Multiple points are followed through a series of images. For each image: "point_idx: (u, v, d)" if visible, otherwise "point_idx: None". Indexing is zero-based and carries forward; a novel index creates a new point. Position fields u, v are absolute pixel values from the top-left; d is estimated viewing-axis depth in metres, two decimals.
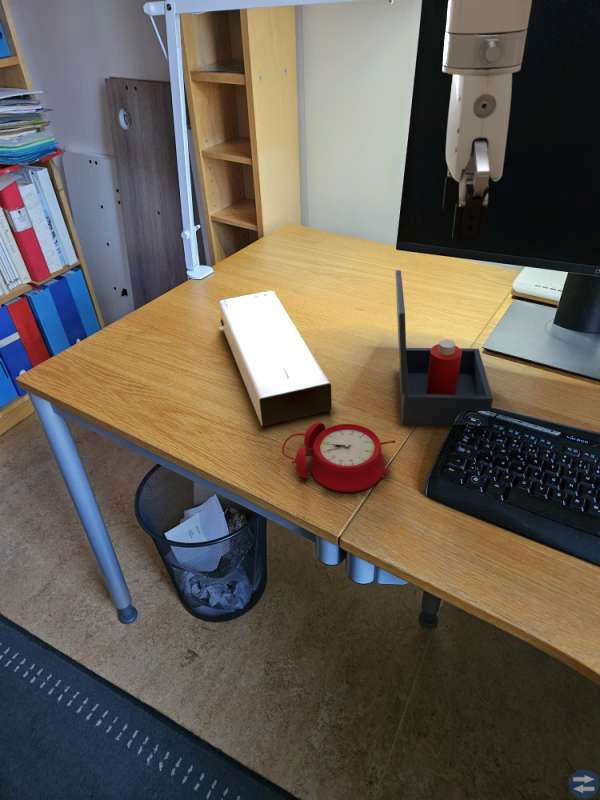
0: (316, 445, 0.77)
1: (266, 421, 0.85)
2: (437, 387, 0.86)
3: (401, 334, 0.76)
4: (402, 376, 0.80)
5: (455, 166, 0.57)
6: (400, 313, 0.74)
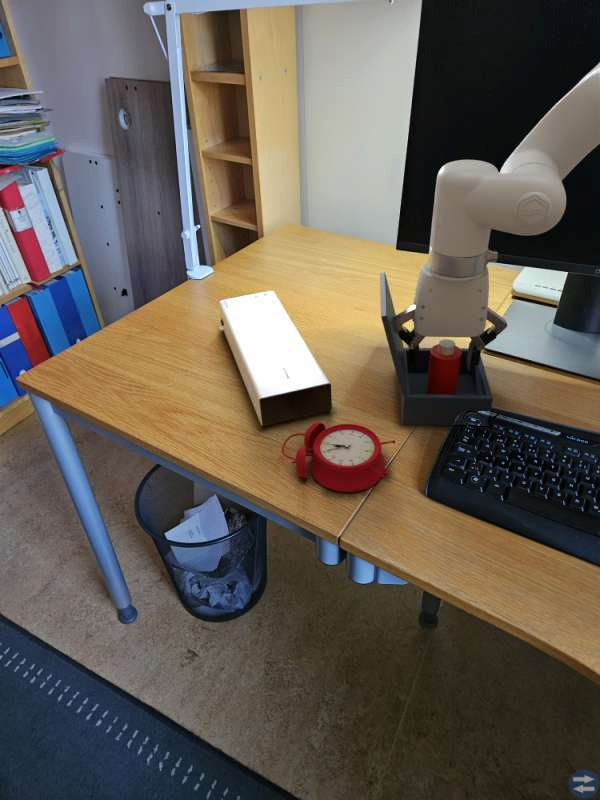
0: (316, 445, 0.77)
1: (266, 421, 0.85)
2: (437, 387, 0.86)
3: (388, 336, 0.76)
4: (398, 377, 0.80)
5: (481, 328, 0.79)
6: (382, 316, 0.74)
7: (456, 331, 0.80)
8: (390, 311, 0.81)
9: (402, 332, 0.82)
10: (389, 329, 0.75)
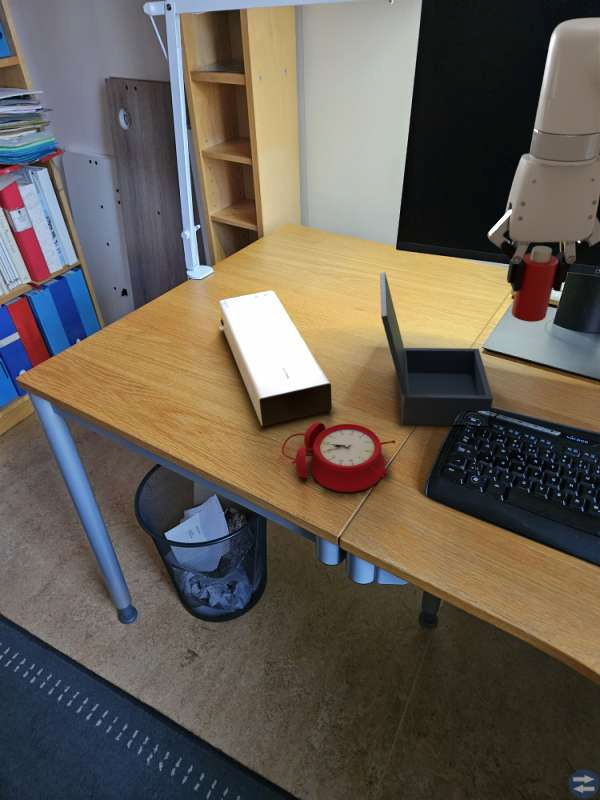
0: (316, 445, 0.77)
1: (266, 421, 0.85)
2: (528, 302, 0.76)
3: (388, 336, 0.76)
4: (398, 377, 0.80)
5: (588, 229, 0.69)
6: (382, 316, 0.74)
7: (559, 233, 0.70)
8: (390, 311, 0.81)
9: (506, 243, 0.73)
10: (389, 329, 0.75)
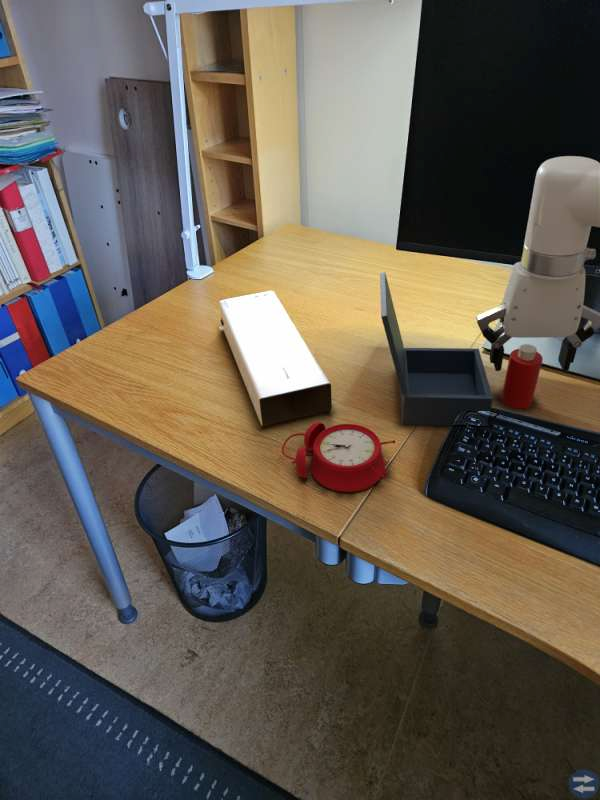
0: (316, 445, 0.77)
1: (266, 421, 0.85)
2: (515, 393, 0.85)
3: (388, 336, 0.76)
4: (398, 377, 0.80)
5: (574, 327, 0.78)
6: (382, 316, 0.74)
7: (549, 331, 0.78)
8: (390, 311, 0.81)
9: (487, 331, 0.81)
10: (389, 329, 0.75)
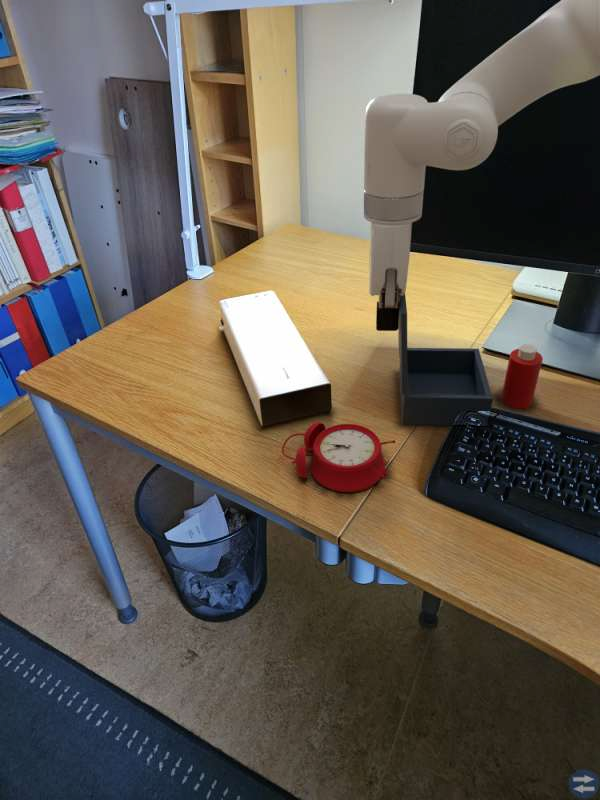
0: (316, 445, 0.77)
1: (266, 421, 0.85)
2: (515, 393, 0.85)
3: (403, 334, 0.76)
4: (402, 376, 0.80)
5: None
6: (402, 313, 0.74)
7: None
8: None
9: (395, 296, 0.77)
10: (406, 327, 0.75)
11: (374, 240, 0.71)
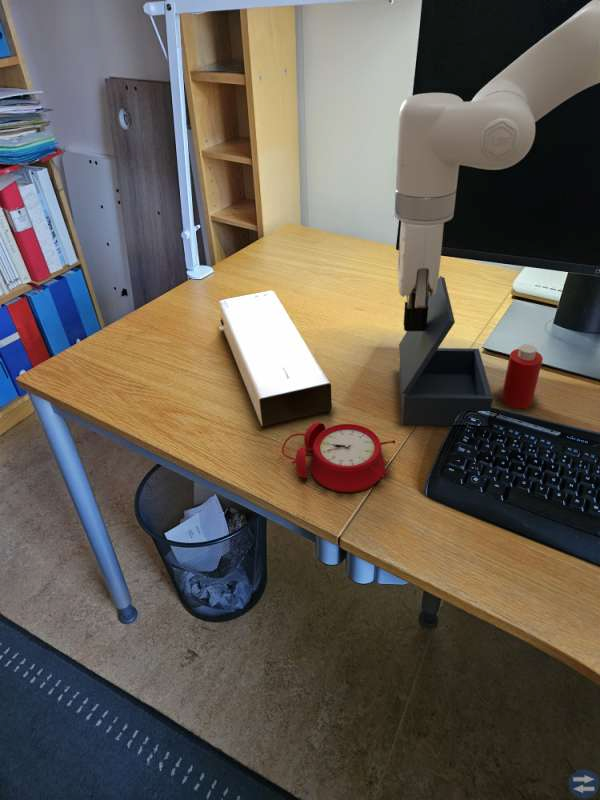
0: (316, 445, 0.77)
1: (266, 421, 0.85)
2: (515, 393, 0.85)
3: (439, 339, 0.76)
4: (413, 377, 0.80)
5: None
6: (450, 320, 0.74)
7: None
8: None
9: None
10: (445, 334, 0.75)
11: (406, 240, 0.70)
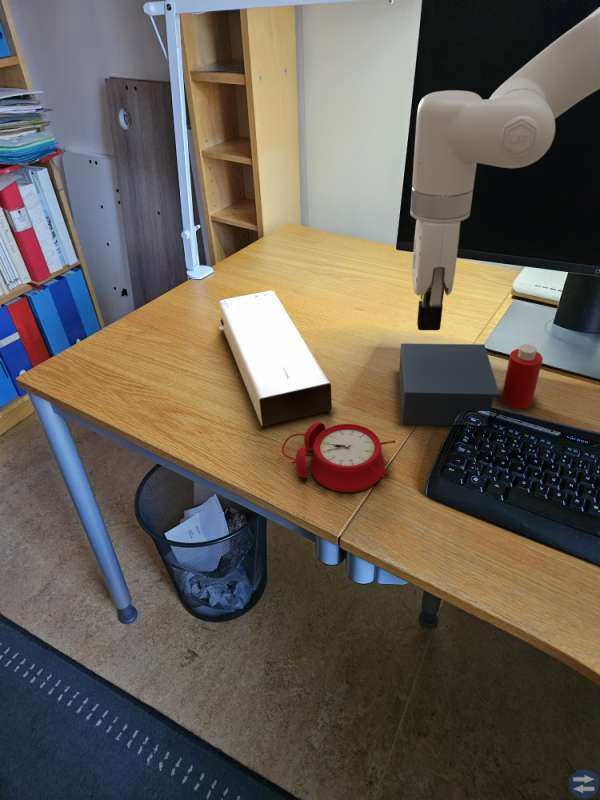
0: (316, 445, 0.77)
1: (266, 421, 0.85)
2: (515, 393, 0.85)
3: (476, 395, 0.80)
4: (427, 393, 0.81)
5: None
6: (498, 394, 0.80)
7: None
8: None
9: None
10: (483, 397, 0.81)
11: (423, 238, 0.70)
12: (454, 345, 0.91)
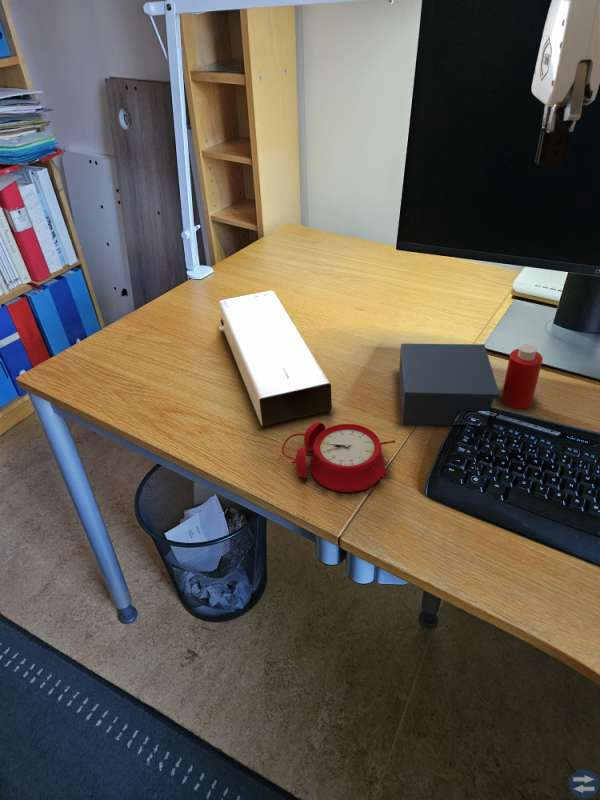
0: (316, 445, 0.77)
1: (266, 421, 0.85)
2: (515, 393, 0.85)
3: (476, 395, 0.80)
4: (427, 393, 0.81)
5: None
6: (498, 394, 0.80)
7: None
8: None
9: None
10: (483, 397, 0.81)
11: (569, 20, 0.57)
12: (454, 345, 0.91)
